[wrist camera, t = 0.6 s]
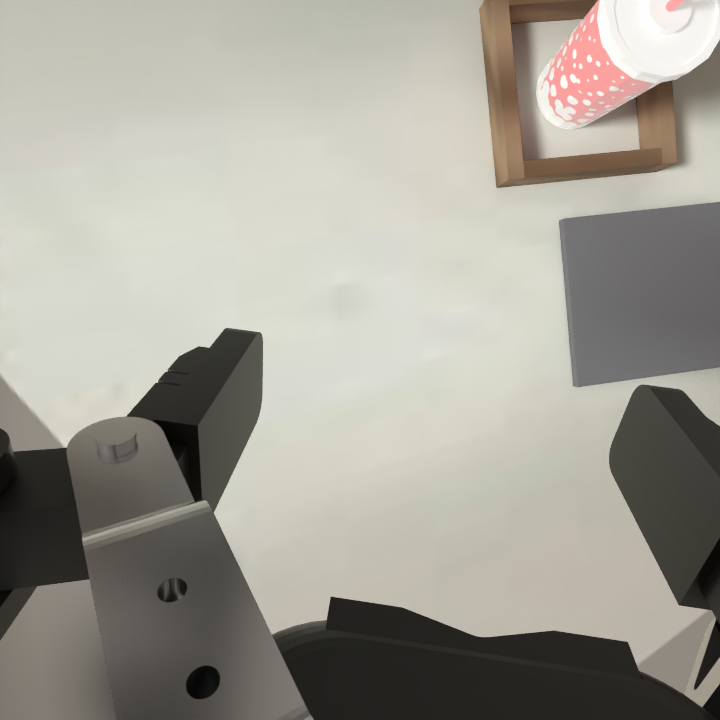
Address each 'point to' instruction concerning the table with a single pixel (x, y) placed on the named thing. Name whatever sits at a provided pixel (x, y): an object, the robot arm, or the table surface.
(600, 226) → the rubber mat
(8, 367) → the table surface
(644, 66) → the beverage cup
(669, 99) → the walnut holder
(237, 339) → the robot arm
